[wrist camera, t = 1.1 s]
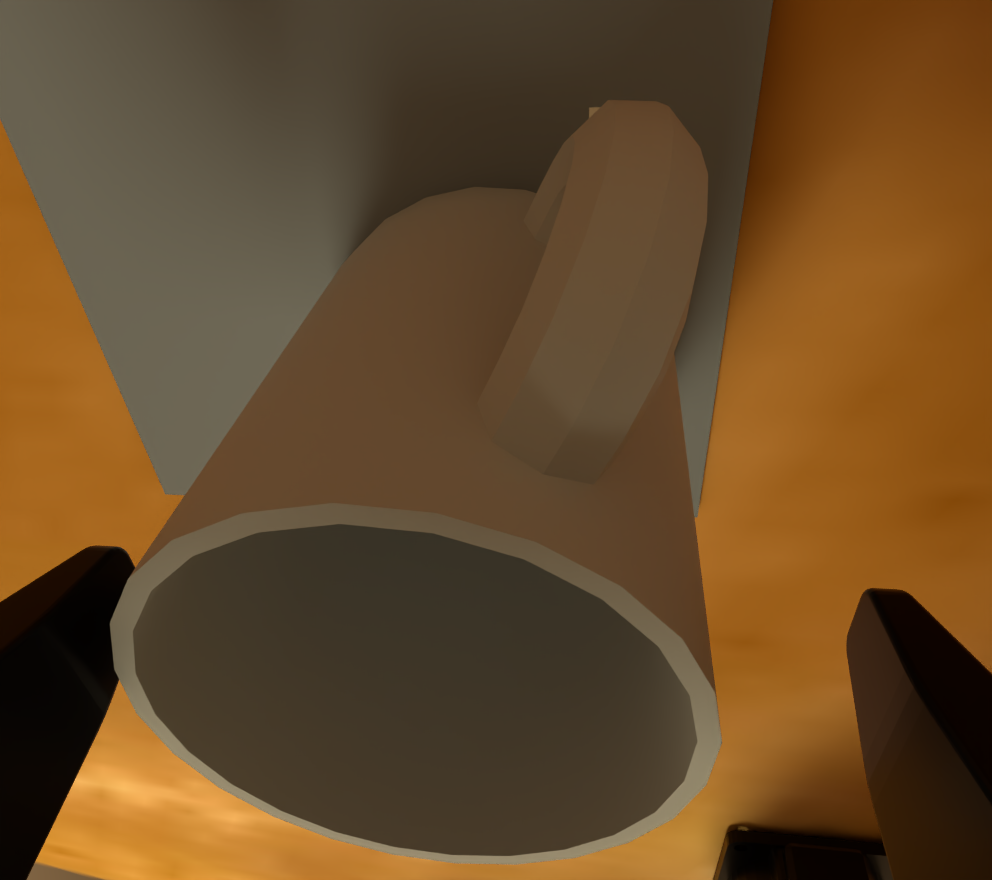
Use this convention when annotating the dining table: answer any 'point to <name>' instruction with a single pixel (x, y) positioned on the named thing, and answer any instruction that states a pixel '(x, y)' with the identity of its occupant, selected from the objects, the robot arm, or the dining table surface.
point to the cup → (458, 531)
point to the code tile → (332, 161)
